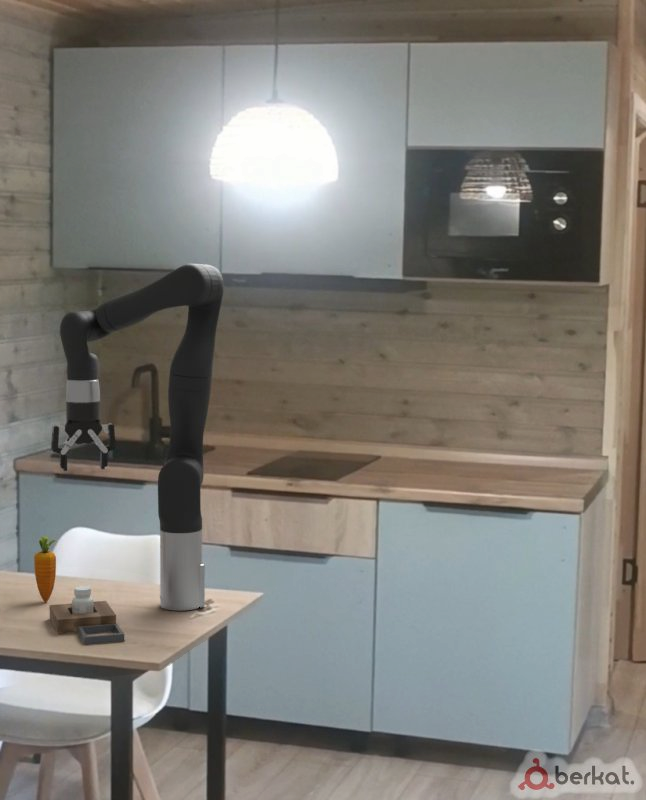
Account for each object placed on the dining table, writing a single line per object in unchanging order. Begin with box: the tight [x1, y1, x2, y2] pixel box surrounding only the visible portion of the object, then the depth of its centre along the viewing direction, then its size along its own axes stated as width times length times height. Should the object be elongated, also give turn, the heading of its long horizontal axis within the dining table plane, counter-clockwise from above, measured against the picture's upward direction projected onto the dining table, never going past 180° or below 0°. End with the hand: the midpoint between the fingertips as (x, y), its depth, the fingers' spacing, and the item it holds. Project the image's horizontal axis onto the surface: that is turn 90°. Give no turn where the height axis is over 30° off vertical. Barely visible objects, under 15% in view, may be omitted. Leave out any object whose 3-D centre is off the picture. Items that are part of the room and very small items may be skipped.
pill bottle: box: [71, 585, 94, 614], centre depth 278 cm, size 4×4×8 cm
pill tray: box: [77, 623, 125, 646], centre depth 269 cm, size 8×8×2 cm
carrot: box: [33, 535, 57, 603], centre depth 295 cm, size 5×5×15 cm
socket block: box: [49, 600, 117, 635], centre depth 279 cm, size 12×12×3 cm
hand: (83, 469), depth 304 cm, fingers open, 8 cm apart
